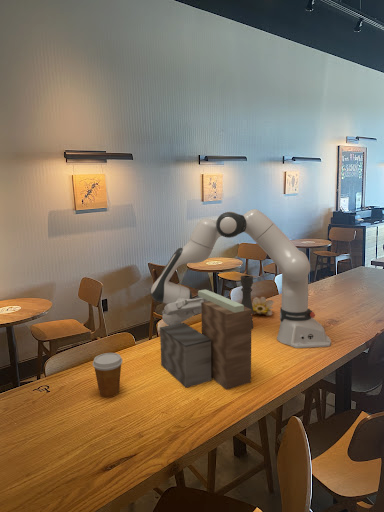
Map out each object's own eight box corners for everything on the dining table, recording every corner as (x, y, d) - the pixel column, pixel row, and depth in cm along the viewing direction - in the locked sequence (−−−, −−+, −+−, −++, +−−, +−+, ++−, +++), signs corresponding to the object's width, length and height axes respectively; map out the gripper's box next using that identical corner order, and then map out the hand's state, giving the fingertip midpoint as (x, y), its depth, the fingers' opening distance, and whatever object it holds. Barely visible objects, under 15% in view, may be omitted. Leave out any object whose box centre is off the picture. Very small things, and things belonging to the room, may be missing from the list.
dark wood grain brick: (161, 365, 146) (160, 327, 143) (184, 359, 151) (183, 322, 148) (186, 387, 129) (185, 345, 126) (211, 380, 133) (211, 339, 131)
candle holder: (242, 330, 180) (243, 278, 176) (237, 326, 186) (238, 275, 182) (255, 329, 182) (255, 277, 178) (249, 324, 188) (250, 274, 184)
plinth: (202, 370, 141) (201, 302, 136) (224, 364, 145) (224, 298, 141) (226, 389, 127) (226, 314, 123) (250, 382, 132) (251, 309, 127)
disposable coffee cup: (111, 382, 133) (109, 349, 131) (129, 391, 127) (128, 357, 125) (88, 393, 126) (86, 359, 124) (106, 403, 120) (104, 367, 118)
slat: (198, 295, 145) (197, 290, 145) (206, 294, 147) (205, 289, 146) (235, 312, 124) (235, 306, 124) (243, 311, 126) (243, 305, 125)
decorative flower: (241, 314, 199) (244, 295, 199) (245, 312, 209) (247, 294, 210) (270, 318, 194) (273, 299, 194) (273, 317, 205) (275, 298, 205)
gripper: (158, 306, 158) (170, 296, 146) (201, 298, 168) (215, 289, 156) (162, 321, 156) (174, 312, 145) (205, 312, 166) (220, 303, 154)
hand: (196, 300), depth 150 cm, fingers open, 8 cm apart
